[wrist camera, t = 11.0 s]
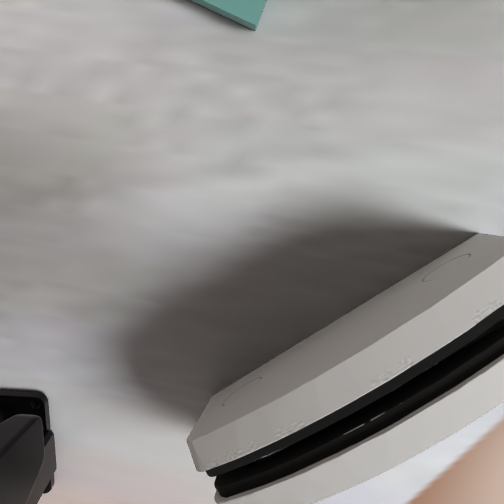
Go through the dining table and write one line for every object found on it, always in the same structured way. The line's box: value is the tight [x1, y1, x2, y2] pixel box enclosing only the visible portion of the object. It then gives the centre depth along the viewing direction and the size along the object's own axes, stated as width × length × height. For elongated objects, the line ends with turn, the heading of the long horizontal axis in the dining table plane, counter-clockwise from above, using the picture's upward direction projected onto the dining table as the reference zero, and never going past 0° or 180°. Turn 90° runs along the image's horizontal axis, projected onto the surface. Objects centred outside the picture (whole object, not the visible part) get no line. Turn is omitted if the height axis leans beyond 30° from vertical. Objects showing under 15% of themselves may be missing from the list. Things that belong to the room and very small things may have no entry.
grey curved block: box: [187, 233, 504, 504], centre depth 18 cm, size 17×5×10 cm, turn 125°
